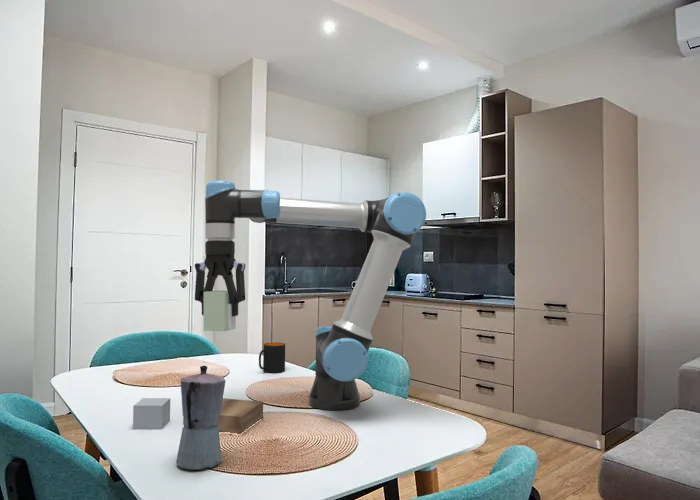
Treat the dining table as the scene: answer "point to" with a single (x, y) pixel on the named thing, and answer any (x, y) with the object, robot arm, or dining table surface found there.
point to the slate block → (151, 413)
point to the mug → (273, 358)
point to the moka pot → (200, 420)
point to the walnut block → (239, 415)
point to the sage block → (216, 311)
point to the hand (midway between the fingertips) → (219, 328)
